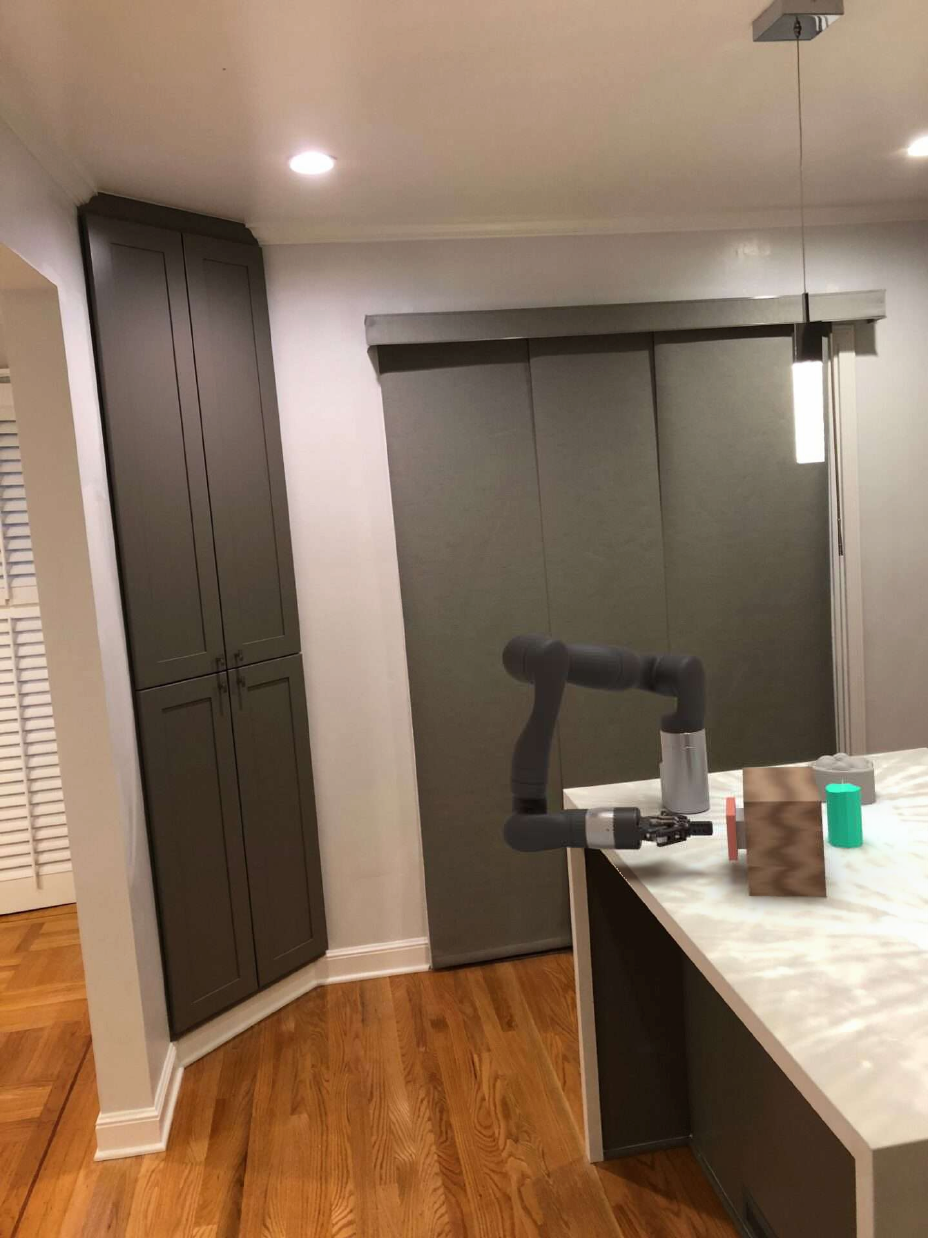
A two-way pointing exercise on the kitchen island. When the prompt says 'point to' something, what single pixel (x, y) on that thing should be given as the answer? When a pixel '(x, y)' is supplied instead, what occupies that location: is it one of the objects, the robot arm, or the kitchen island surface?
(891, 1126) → the kitchen island surface
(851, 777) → the lumpy-topped squat cylinder
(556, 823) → the robot arm
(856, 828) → the candle
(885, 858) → the kitchen island surface
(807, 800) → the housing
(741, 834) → the coral square plate
